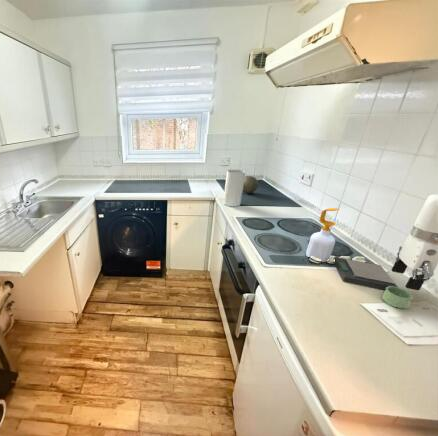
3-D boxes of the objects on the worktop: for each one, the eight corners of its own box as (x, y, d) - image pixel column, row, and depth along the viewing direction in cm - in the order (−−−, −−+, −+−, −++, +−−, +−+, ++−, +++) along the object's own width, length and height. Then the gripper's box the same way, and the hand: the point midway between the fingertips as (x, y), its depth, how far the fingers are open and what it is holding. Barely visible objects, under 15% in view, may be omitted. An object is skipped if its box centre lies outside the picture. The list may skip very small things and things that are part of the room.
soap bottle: (323, 264, 105) (341, 213, 95) (301, 255, 112) (316, 207, 102) (332, 258, 109) (350, 209, 100) (311, 250, 116) (325, 203, 107)
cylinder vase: (243, 204, 180) (248, 171, 170) (235, 208, 172) (240, 173, 162) (227, 200, 188) (232, 168, 178) (219, 204, 180) (223, 171, 170)
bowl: (401, 299, 85) (407, 289, 83) (411, 312, 79) (417, 301, 77) (378, 294, 87) (383, 284, 85) (386, 306, 82) (391, 295, 80)
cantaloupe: (238, 190, 213) (241, 174, 207) (255, 192, 209) (258, 175, 203) (238, 195, 200) (241, 177, 195) (257, 196, 196) (260, 178, 190)
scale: (378, 269, 101) (380, 263, 100) (395, 292, 88) (399, 286, 87) (333, 261, 107) (335, 255, 106) (343, 281, 94) (345, 275, 93)
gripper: (465, 250, 64) (435, 299, 71) (428, 226, 79) (405, 269, 85) (428, 244, 67) (402, 292, 74) (398, 222, 81) (379, 264, 88)
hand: (404, 280), depth 79 cm, fingers open, 9 cm apart
